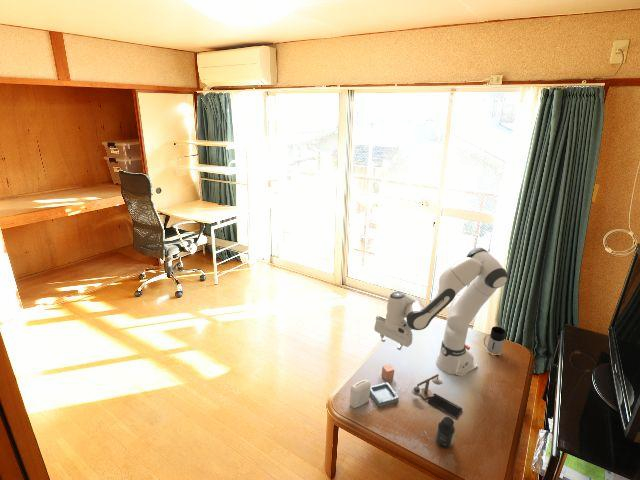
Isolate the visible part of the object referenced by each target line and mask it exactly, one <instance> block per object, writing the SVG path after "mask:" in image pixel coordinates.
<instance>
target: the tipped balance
mask: <svg viewBox="0 0 640 480" xmlns="http://www.w3.org/2000/svg"><path fill="white" fill-rule="evenodd" d="M439 376H440V375H439V373H436V374H435V375H433V376H431V377H428V378H426V379H425V380H423V381H421V382H419V383H417V385H416V386H414V387H413V388H411V394H412V395H414V396H415V397H419V396H420V397H421V399H423V401H425V400H428V399H429V398H430V397H434V393H433V392H432V391H431V389H429V387H430V383H431V382H430V381H432V383H433V384H434V385H436V386H437V385H439V386H440V385H442V384H443V379H442V377H439ZM422 385H424V387H423V388H421V387H420V386H422Z"/></svg>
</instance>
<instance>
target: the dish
mask: <svg viewBox="0 0 640 480" xmlns="http://www.w3.org/2000/svg"><path fill="white" fill-rule="evenodd" d="M370 397H372V399H373V401H374V402H375V404H376V406H377V407H378V408H379V407H384V406H387V405H390V404H394V403H397V402H399V401H400V400H399V399H400V397H399V396H398V393H396V391H395V390H394V388H393V387H392V386H391V385H390V383H389V382H388V381H385V382H382V383H378V384H374V385H371V387H370Z"/></svg>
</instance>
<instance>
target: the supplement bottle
mask: <svg viewBox="0 0 640 480" xmlns="http://www.w3.org/2000/svg"><path fill="white" fill-rule="evenodd" d="M454 425H455V422H454V419H452V417H449V416H444V417H442V419H441V421H439V422H438V424H437V429H436V435H435V442H436V444H437V446H439V447H440V448H442V449H449V448H451V447H452V445H453V442H454V441H453V440H454V436H455V433H456V432H455V431H456V428H455V426H454Z"/></svg>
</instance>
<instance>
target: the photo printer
mask: <svg viewBox="0 0 640 480" xmlns="http://www.w3.org/2000/svg"><path fill="white" fill-rule="evenodd" d="M371 386H372V384H371V381H370V380H369V379H362V380H360V381H358V382H356V383H354V384H353V385H352V386H351V387H350V397H349V405H350V407H351V408H352V409H356V408H358V407H360V406H363V405H364V404H366V403H368V402H369V401H370V397H371V395H370V387H371Z"/></svg>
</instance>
